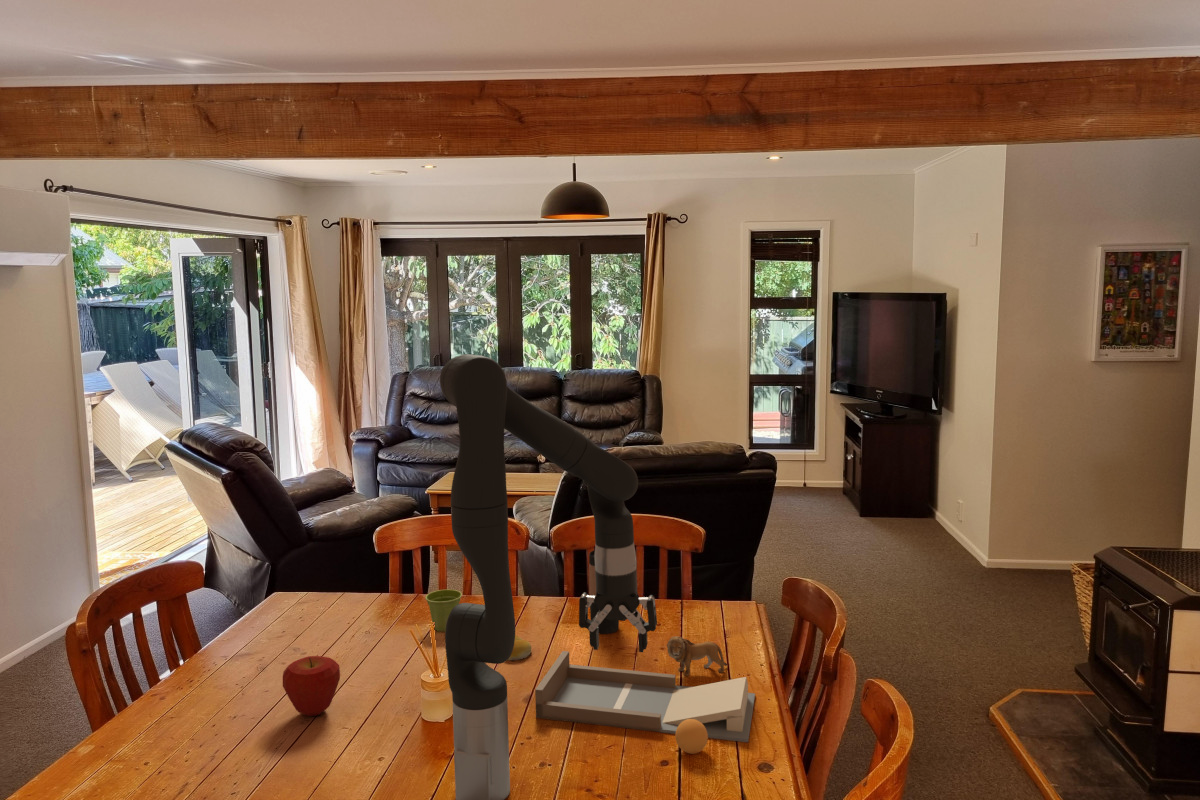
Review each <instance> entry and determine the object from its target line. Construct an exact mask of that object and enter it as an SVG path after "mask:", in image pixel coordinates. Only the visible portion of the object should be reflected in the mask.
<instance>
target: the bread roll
mask: <svg viewBox="0 0 1200 800" xmlns="http://www.w3.org/2000/svg"><path fill="white" fill-rule="evenodd" d="M531 653H532V645H531V643H530V641H528V640H526V639H523V638H522V637H520V636H518V635H516V634H515V642H514V647H513V651H512V653H511V656H510V657H509V659H508V660H507V661H517V660H518V661H519V660H523V658H524V659H526V658H527V657H529V656H530V655H531Z"/></svg>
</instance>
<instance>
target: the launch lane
mask: <svg viewBox="0 0 1200 800" xmlns="http://www.w3.org/2000/svg"><path fill="white" fill-rule="evenodd" d="M676 683H677V682H676V674H672V673H661V672H660V673H659V672H651V671H650V672H649V671H642V670H641V671H640V670H633V669H621V668H620V669H619V668H612V667H611V668H610V667H601V666H600V667H599V666H589V665H579V664H572V663H571V664H570V651H568V650H567V651H566V650H562V651H561V653H560V654H559V655H558V657H557V658H556V660H555V661H554V663H552V666H551V667H550V668H549V669H548V671H547V672H546V674H545V675H544V677H543V678H542V679H541V681H540V683H539V684H538V685H537V686H536V687H535V691H534V692H535V693H534V696H535V719H545V720H552V721H553V720H554V721H561V722H571V723H578V724H579V723H580V724H588V725H595V726H596V725H597V726H604V727H611V728H612V727H615V728H621V729H622V728H623V729H630V730H639V731H646V732H647V731H648V732H656V733H665V734H672V735H675V734H676V730H677V727H678V726H679V724H680V723H681V722H683V721H684V720H687V719H695V720H698V721H699V722H701V723H702V724H703V725H704V726H705V728H706V730H707V734H708V739H715V740H725V741H733V742H741V743H749V739H750V732H751V726H752V718H753V712H754V705H755V700H756V698H755V697H756V693H754V692H749V682H748V678H747V677H746V676H744V677H738V678H737V677H736V678H734V679H733V678H732V679H728V680H722V681H718V682H712V683H706V684H701V685H697V686H686V685H677V684H676Z"/></svg>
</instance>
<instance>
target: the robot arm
mask: <svg viewBox="0 0 1200 800" xmlns="http://www.w3.org/2000/svg"><path fill="white" fill-rule="evenodd" d="M439 386H440V390H441V392H442V394H443V396H444V397H445V399H446V400H447V401H448V402H449V403H450V404H451V405H452V406H455V409H456V413H457V414H456V415H457V421H458V423H457V424H458V433H459V434H458V435H459V448H458V456H457V460H456V461H457V462H456V464H455V468H454V473H453V477H452V482H451V490H450V514H451V515H450V516H451V530H452V534H453V538H454V540H455V542H456V544H457V546H458V547H459V549H460V551H461V553H462V554H463V557H464V558H465V559H466V561H467V562H468V563H469V566H470V567H471V569H472V571H473V572H474V573H475V575H476V577H477V580H478V581H479V583H480V587H481V591H482V596H483V601H484V604H479V603H471V602H461V603H460V602H459V604H458V605H456V606H455V607H454V608H453V609H452V610H451V612H450V614H449V616H448V619H447V623H446V630H445V631H444V644H445V655H446V665H447V678H448V680H447V681H448V686H449V689H450V691H451V694H452V695H451V696H452V723H453V747H454V749H453V750H454V752H453V753H454V754H453V760H454V761H453V762H454V785H455V787H454V789H455V800H505V799H507V798H508V796H509V795H510V792H511V783H510V782H511V776H510V748H509V747H510V746H509V745H510V742H509V741H510V740H509V718H508V717H509V715H508V714H509V709H508V708H509V707H508V706H509V705H508V703H509V702H508V683H507V680H506V678H505V677H504V675H503V674H502V673H500V672H499V671H497V670H496V669H493V667H491V666H490V665H488V664H492V665H496V664H499V665H500V664H503V663H505V662H507V661H509V660H508V659H509V657H510V656H511V653H512V651H513V647H514V642H515V635H516V619H515V618H516V617H515V608H514V601H513V598H514V597H513V590H512V585H511V584H512V583H511V575H510V561H509V560H510V559H509V558H510V557H509V510H508V507H509V506H508V491H507V471H506V469H507V468H506V467H507V466H506V455H505V430H506V431H507V432H509V433H510V434H511V435H514V437H516V438H518V439H519V440H520V441H522V442H523V443H524V444H526V445H527V446H529V447H530V448H531V449H532V450H534V451H536V452H537V453H539V455H541V456H542V457H544V458H545V459H546V460H548V461H550V462H551V463H553V465H556V466H557V467H558V468H560V469H562V470H563V471H565V472H566V473H568V474H571V475H572V476H574V477H577V478H578V479H580V480H582V481H583V482H585V483H586V489H587V494H588V499H589V503H590V506H591V507H590V508H591V511H592V514H593V515H592V516H593V518H594V542H595V544H594V545H595V547H594V550H595V577H596V596H591V595H590V594H588V593H587V592H585V591H584V592H582V594H581V596H579V597H580V598H579V600H578V603H579V606H578V627H579V628H580V629H587V630H588V633H589V645H590V647H591V648H593V649H592V650H593V651H598V650H599V647H600V636H599V635H600V634H599V629H598V625H599V624H600V623H601V622H602V621H603V619H604V618H607V619H608V620H619V622H626V620H628V621H629V623H630V624H631V625H632V626H634V627H635V628H636V630H637V631H638V634H637V635H638V637H637V638H638V653H644V651H645V650H646V649H647V647H648V641H649V640H648V632H654V631H656V629H657V624H658V618H657V609H656V608H657V607H656V597H655V595H653V594H650V595H648V597H647V596H646V597H645V596H643V597H642V596H641V597H640V595H639V594H638V581H637V580H638V578H637V577H638V576H637V565H638V564H637V563H638V562H637V560H638V559H637V553H636V552H637V551H636V549H635V548H636V547H635V537H634V531H635V530H634V519H633V515H632V513H631V512H630V511H629V509H628V508H627V507H626V504H625V502H626V501H627V500H629V499H631V498H632V497H634V495H635V494H636V492H637V490H638V487H639V478H638V474H637V473H636V471H635V469H634V468H633V467H632V466H631V465H629V463H627V462H625V461H624V460H622V459H620V458H619V457H617V456H615V455H614V454H612V453H610V452H609V451H607V450H605V449H603V448H602V447H600V446H599V445H597V443H595V442H594V441H592V440H591V439H590V438H589V437H587V436H586V435H584V434H583V433H582V432H580V431H579V430H577V428H574V427H573V426H572V425H570V424H569V423H567V421H566V422H565V421H564V420H562V419H560V418H559V417H557V416H555V415H554V414H552V413H550V412H549V411H546V410H545V409H543V408H542V407H540V406H537V405H535V404H534V403H532V402H531V401H529V400H528V399H525V398H524V397H522V395H520V394H518V393H517V392H516V391H514V390H513V389H512V388H510V387H509V386H508V381H507V378H506V374H505V371H504V370H503V367H502V366H501V365H500V364H499V363H498V362H497V361H496V360H494V359H493V358H491V357H488V356H483V355H480V354H479V355H478V354H471V353H469V354H468V353H467V354H461V355H457V356H456V355H455V357H452V358H451V359H450V360H448V361H447V362H446V363H445V364H444V365H443V367H442V369H441V372H440V376H439ZM593 602H594V604H595V605H596V606H597V608H598V609H599V612H598V613H597V615H596V616H595V617H594V619H593V620H591V618H589V609H590V606H591V604H592V603H593ZM640 605H641V606H642V608H643V609H644V610H645V611H646V612H647V622H646V621H645V619H644V618H643V617H642V614H641V612H639V610H638V609H637V608H638V607H639V606H640Z"/></svg>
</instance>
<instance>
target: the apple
mask: <svg viewBox="0 0 1200 800" xmlns="http://www.w3.org/2000/svg"><path fill="white" fill-rule="evenodd" d="M340 679H341V669H340V664H339V663H338V662H337V661H336V660H334V659H333V658H331V657H328V656H323V655H309V656H305V657H302V658H299V659H297V660H295V661H291V663H289V665H288V666H287V667H286V668H285V669H284V670H283V672H282V687H283V689H284V691H285V693H286V696H287V697H288V699H289V700H290V703H291V704H292V705H293V707H294V708H295V710H296V711H297V712H298V713H300V714H301V715H303V716H306V717H316V716H319V715H321V714H322V713H324V712H325V711H326V710H327V709H328V708H330V706H331V704H332V702H333V699H334V696H335V693H336V691H337V688H338V685H339V682H340Z"/></svg>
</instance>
